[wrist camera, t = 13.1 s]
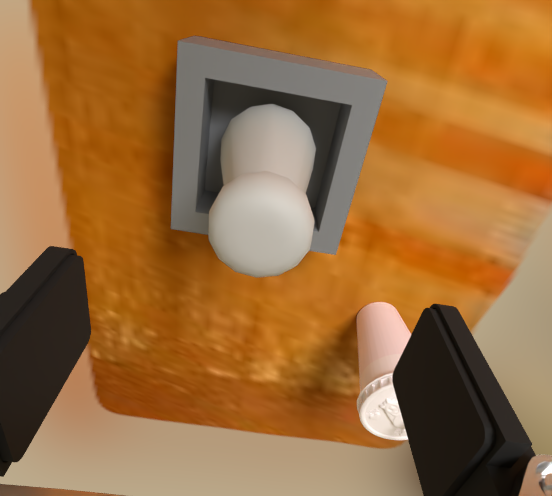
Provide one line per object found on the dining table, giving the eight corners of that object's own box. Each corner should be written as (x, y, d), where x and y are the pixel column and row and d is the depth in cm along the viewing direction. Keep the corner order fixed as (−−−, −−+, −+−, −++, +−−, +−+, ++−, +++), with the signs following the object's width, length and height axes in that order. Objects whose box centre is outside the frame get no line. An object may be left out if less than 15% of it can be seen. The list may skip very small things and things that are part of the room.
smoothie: (382, 353, 37) (428, 516, 25) (326, 326, 36) (348, 486, 24) (429, 309, 34) (506, 469, 23) (371, 277, 33) (422, 431, 21)
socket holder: (194, 35, 24) (177, 40, 20) (371, 69, 25) (387, 81, 21) (185, 200, 29) (170, 228, 26) (328, 223, 30) (335, 254, 26)
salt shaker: (215, 168, 27) (168, 279, 16) (238, 83, 24) (200, 146, 13) (295, 193, 28) (304, 315, 17) (326, 114, 25) (361, 198, 14)
